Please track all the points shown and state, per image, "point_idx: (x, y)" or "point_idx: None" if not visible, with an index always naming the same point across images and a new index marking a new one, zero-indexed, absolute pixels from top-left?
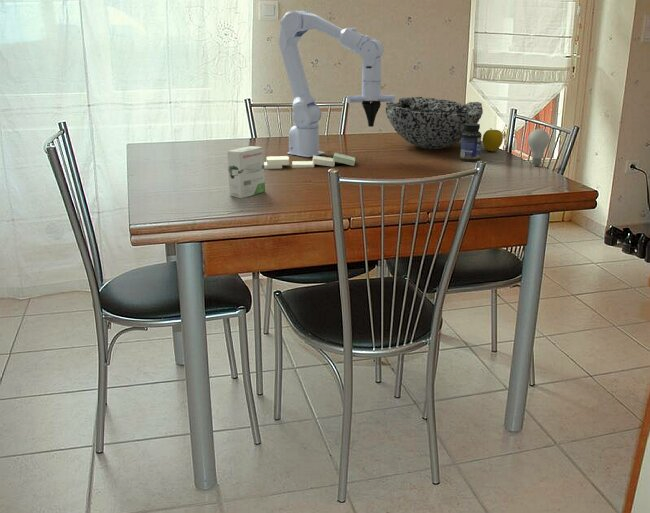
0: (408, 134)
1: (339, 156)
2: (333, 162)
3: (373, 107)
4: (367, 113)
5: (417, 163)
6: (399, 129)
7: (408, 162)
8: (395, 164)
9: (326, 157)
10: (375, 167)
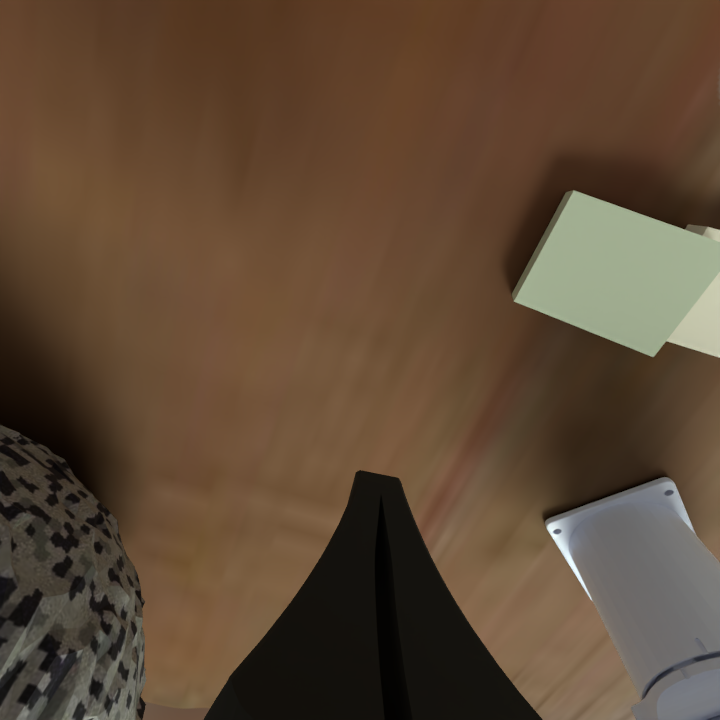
0: (76, 497)
1: (680, 252)
2: (712, 229)
3: (369, 687)
4: (451, 604)
5: (131, 136)
6: (115, 562)
7: (185, 189)
8: (283, 153)
9: (695, 341)
10: (449, 95)
